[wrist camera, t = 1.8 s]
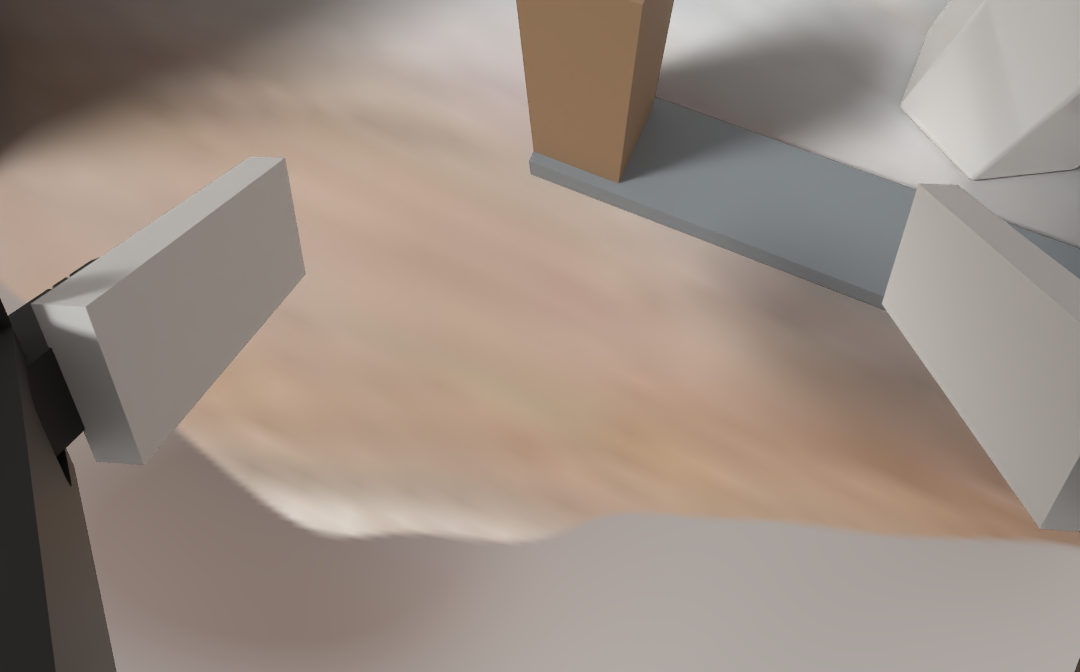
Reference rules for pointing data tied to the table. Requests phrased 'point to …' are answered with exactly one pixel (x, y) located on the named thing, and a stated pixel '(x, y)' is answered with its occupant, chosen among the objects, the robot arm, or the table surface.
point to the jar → (1001, 86)
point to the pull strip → (701, 155)
